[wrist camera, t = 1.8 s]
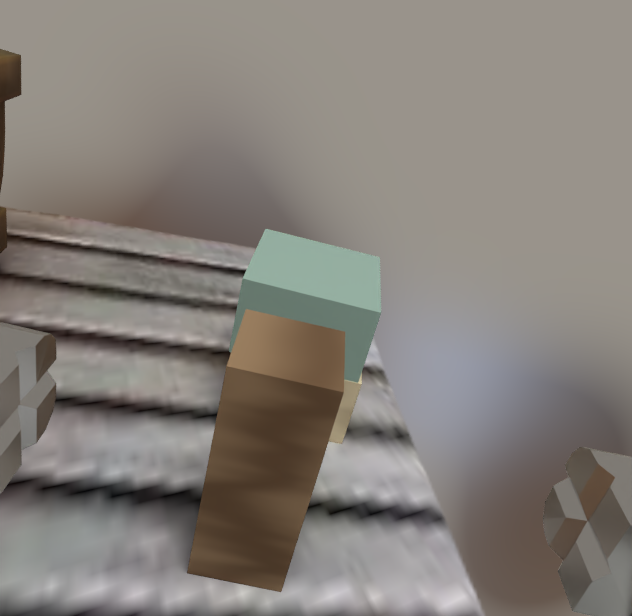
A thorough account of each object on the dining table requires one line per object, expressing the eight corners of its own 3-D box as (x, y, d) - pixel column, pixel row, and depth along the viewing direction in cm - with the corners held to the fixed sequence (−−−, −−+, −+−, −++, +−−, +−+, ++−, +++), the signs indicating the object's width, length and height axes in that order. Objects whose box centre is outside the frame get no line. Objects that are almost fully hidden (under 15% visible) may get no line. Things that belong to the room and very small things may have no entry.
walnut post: (187, 573, 28) (226, 366, 22) (208, 500, 32) (245, 308, 26) (281, 592, 28) (343, 392, 22) (290, 517, 32) (345, 331, 26)
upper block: (228, 351, 35) (242, 278, 33) (252, 292, 42) (265, 228, 40) (358, 383, 36) (381, 312, 33) (360, 319, 43) (379, 257, 40)
